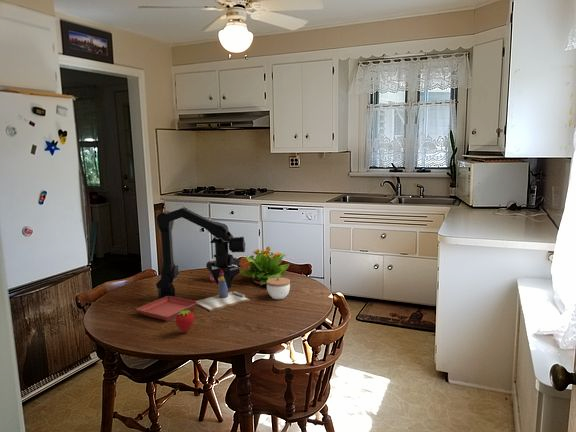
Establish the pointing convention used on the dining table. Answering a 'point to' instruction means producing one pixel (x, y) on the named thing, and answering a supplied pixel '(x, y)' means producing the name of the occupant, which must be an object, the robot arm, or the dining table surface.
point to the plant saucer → (166, 307)
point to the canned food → (211, 275)
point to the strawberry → (185, 320)
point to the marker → (222, 287)
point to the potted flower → (265, 266)
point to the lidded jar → (278, 287)
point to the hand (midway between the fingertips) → (223, 286)
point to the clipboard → (222, 301)
